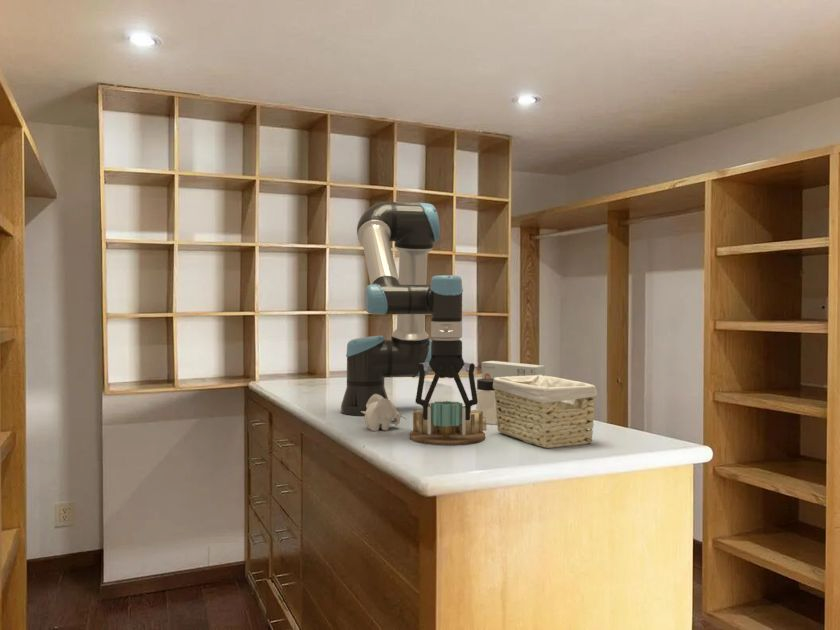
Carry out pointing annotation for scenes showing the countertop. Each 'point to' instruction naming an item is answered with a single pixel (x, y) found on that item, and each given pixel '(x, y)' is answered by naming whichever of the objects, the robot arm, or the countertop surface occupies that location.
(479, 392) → the jar
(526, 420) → the storage basket
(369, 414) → the elephant figurine
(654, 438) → the countertop surface
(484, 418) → the stand
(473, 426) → the carrier
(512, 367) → the skincare box
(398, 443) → the countertop surface
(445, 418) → the gear
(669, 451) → the countertop surface
